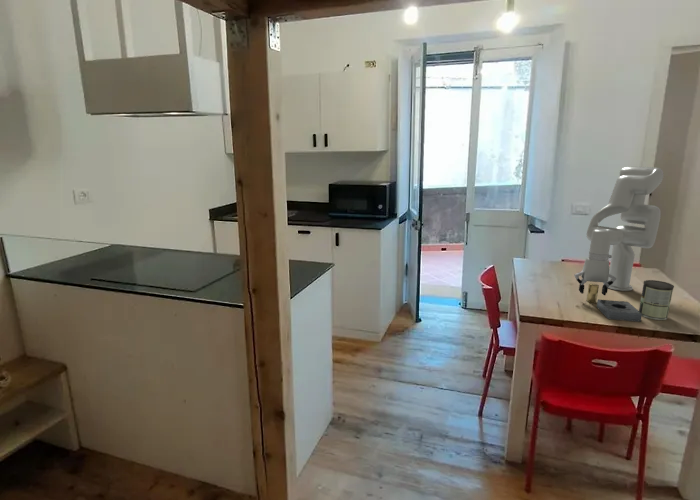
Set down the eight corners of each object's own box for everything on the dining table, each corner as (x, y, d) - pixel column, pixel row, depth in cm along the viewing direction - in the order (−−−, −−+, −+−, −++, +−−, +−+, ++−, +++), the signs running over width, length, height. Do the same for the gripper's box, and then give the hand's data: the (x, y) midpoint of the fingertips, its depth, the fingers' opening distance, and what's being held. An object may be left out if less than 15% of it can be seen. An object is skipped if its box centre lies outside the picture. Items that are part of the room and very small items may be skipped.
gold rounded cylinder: (585, 299, 197) (587, 283, 195) (594, 300, 196) (597, 283, 194) (587, 302, 193) (590, 285, 191) (597, 303, 192) (600, 286, 190)
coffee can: (632, 310, 184) (637, 279, 180) (655, 310, 184) (661, 279, 181) (649, 320, 174) (655, 287, 170) (673, 320, 174) (680, 287, 171)
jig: (596, 306, 188) (597, 299, 187) (626, 309, 185) (627, 301, 185) (608, 318, 175) (609, 310, 174) (640, 321, 172) (642, 313, 171)
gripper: (616, 256, 191) (610, 292, 195) (574, 253, 195) (569, 289, 199) (623, 260, 184) (616, 298, 188) (579, 257, 188) (574, 294, 192)
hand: (592, 293), depth 194 cm, fingers open, 8 cm apart
